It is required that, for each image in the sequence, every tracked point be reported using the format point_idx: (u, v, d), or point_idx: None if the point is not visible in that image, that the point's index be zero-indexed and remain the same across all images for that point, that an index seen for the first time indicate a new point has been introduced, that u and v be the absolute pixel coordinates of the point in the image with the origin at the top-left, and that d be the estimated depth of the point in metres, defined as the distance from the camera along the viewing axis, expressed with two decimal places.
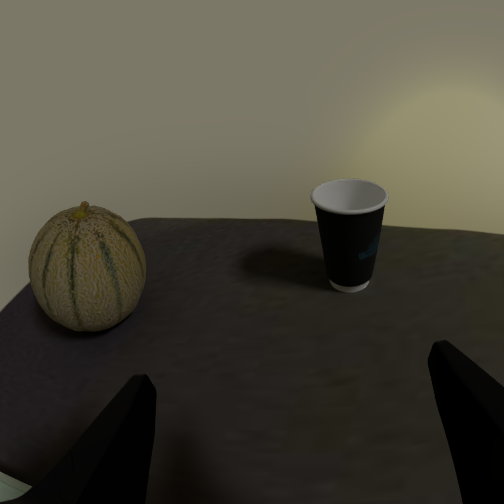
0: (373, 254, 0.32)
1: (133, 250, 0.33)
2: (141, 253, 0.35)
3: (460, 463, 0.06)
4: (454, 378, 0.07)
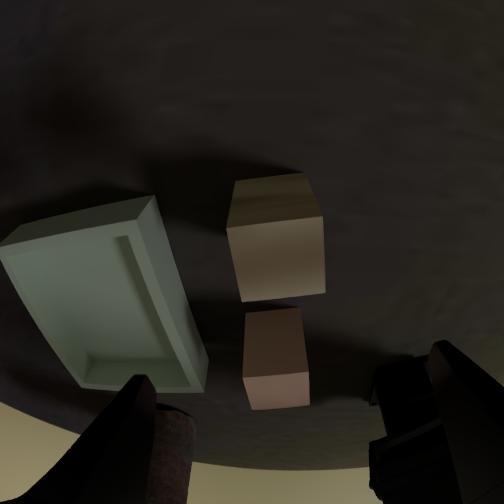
0: None
1: None
2: None
3: (460, 463, 0.06)
4: (454, 378, 0.07)
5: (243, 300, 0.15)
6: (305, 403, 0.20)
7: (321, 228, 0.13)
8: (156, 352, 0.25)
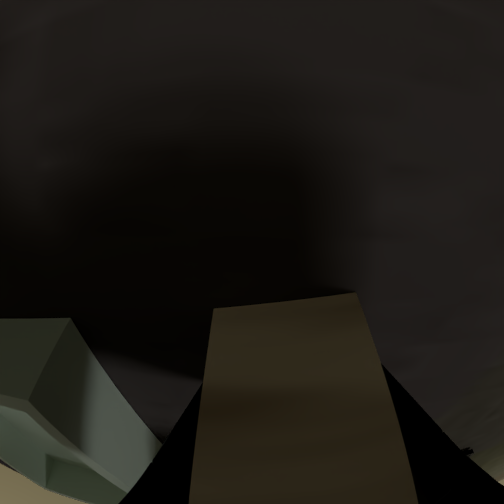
0: None
1: None
2: None
3: None
4: None
5: None
6: None
7: None
8: None
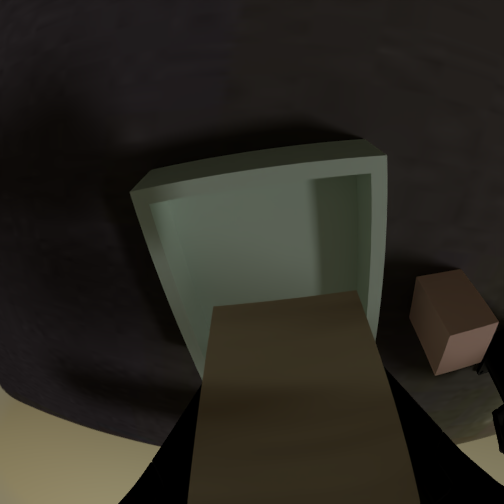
0: None
1: None
2: None
3: None
4: None
5: None
6: (479, 360, 0.17)
7: None
8: None
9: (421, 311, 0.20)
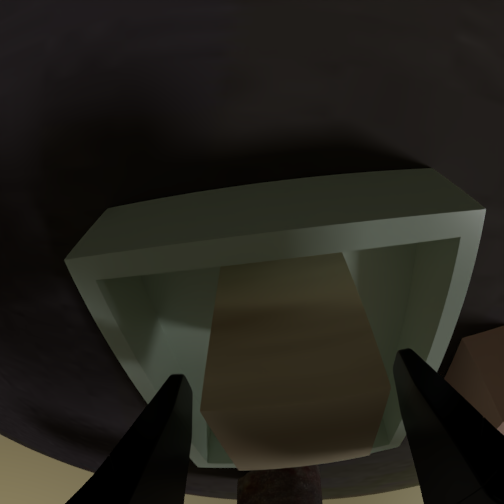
0: None
1: None
2: None
3: (423, 476, 0.06)
4: (414, 389, 0.07)
5: (241, 469, 0.08)
6: None
7: (384, 401, 0.06)
8: None
9: (463, 379, 0.15)
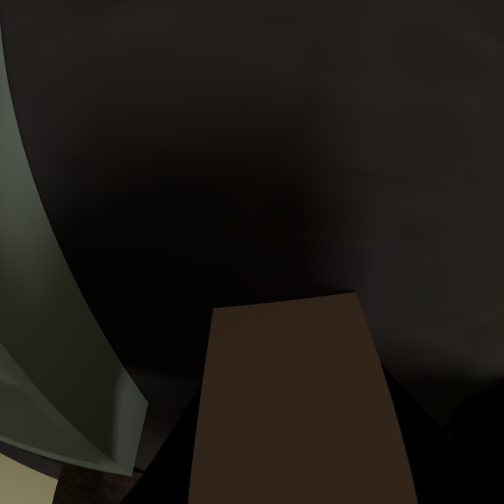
0: None
1: None
2: None
3: None
4: None
5: None
6: None
7: None
8: None
9: None
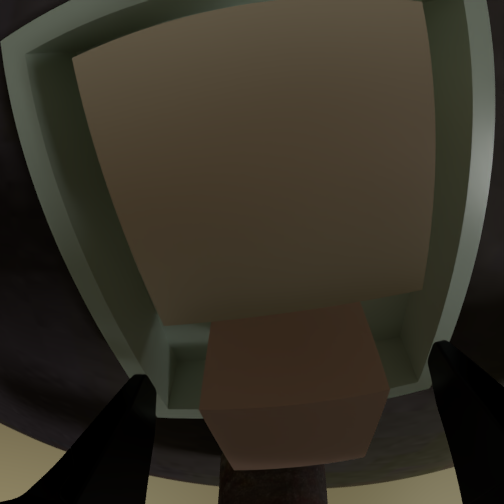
0: None
1: None
2: None
3: (460, 463, 0.06)
4: (454, 378, 0.07)
5: (167, 321, 0.05)
6: (356, 454, 0.08)
7: (423, 44, 0.03)
8: None
9: None
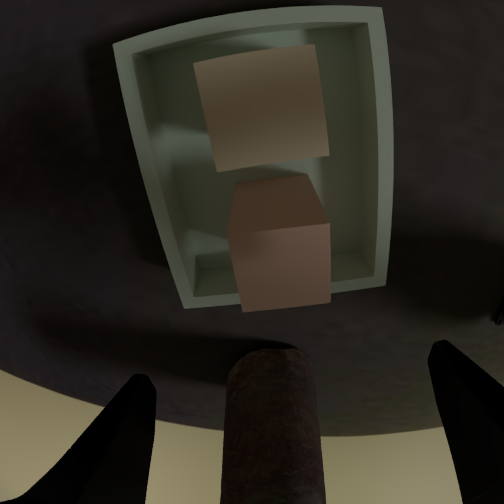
0: None
1: None
2: None
3: (460, 463, 0.06)
4: (454, 378, 0.07)
5: (219, 169, 0.11)
6: (324, 297, 0.14)
7: (314, 59, 0.09)
8: None
9: None
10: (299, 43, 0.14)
